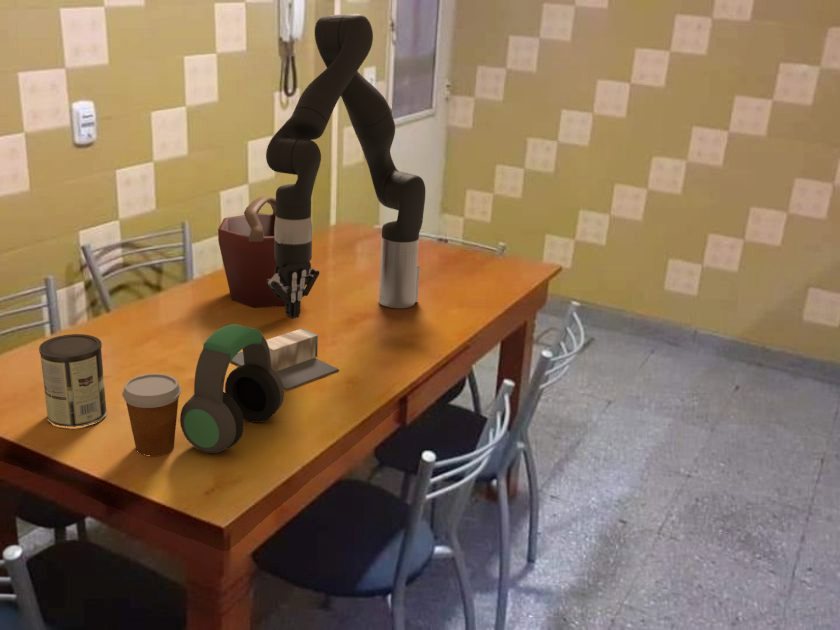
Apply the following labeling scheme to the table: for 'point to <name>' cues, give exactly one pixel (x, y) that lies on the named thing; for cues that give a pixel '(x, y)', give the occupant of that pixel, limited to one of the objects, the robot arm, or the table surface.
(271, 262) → the bucket
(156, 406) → the disposable coffee cup
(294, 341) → the cream block
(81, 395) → the coffee can
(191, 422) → the headphones
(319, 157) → the robot arm
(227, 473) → the table surface
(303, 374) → the mat
